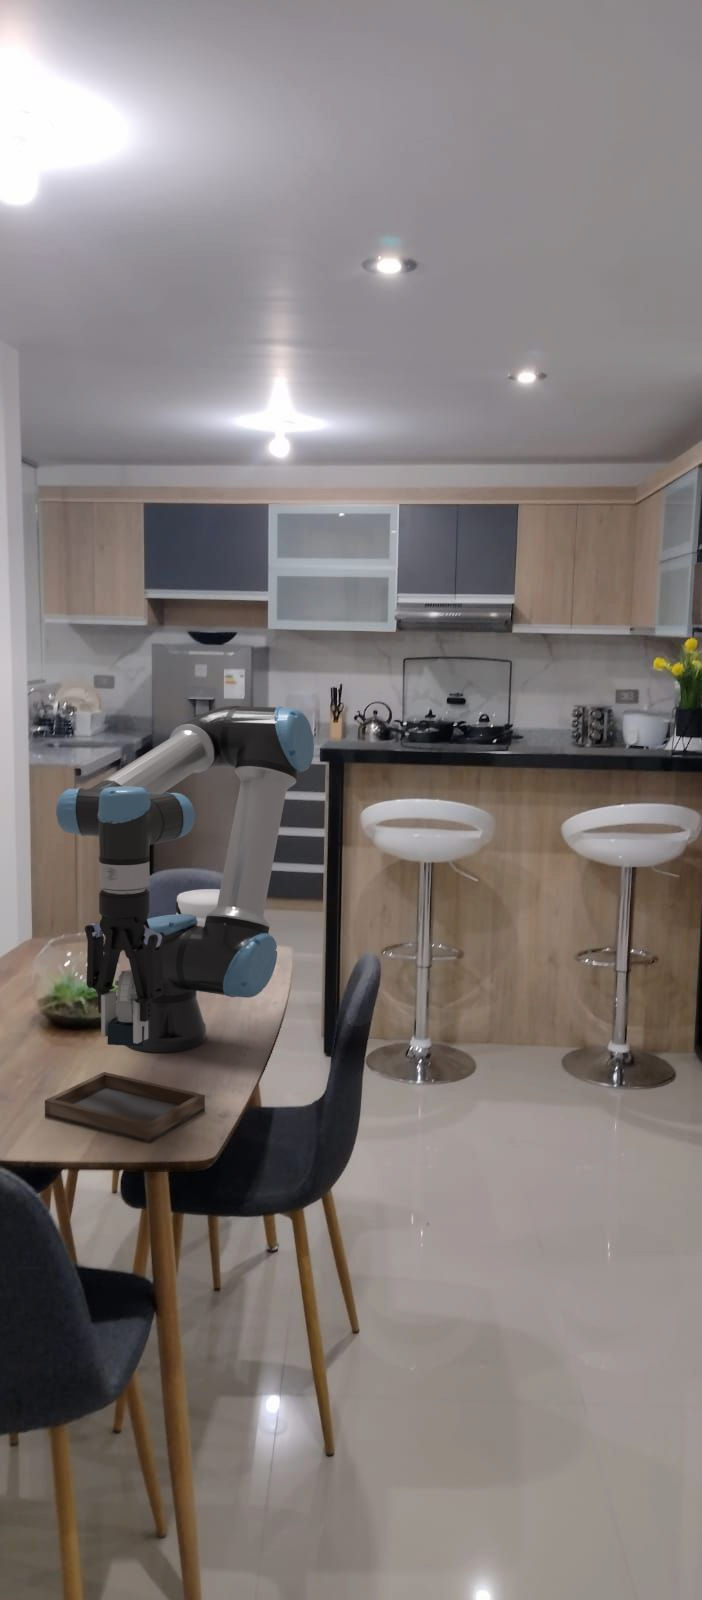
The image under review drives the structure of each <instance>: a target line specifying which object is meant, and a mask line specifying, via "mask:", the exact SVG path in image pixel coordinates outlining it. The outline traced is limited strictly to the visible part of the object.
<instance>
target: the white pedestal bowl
mask: <svg viewBox="0 0 702 1600" xmlns="http://www.w3.org/2000/svg"><path fill="white" fill-rule="evenodd" d="M219 893H220V889H219V888H206V889H205V888H204V889H203V888H202V889H193V890H187V891H183V892H180V893H178V895H177V896H176V904H175V911H176V913H175V914H191V915H194V916H196V919H197V921H198V923H197V926H202V927H204V926H205V921H206V916H207V914H209V913H210V912H212V911H213V910H214V909H215V908H216V907H217V903H218V898H219Z"/></svg>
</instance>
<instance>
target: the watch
mask: <svg viewBox="0 0 702 1600" xmlns="http://www.w3.org/2000/svg"><path fill="white" fill-rule="evenodd" d="M114 985H115V987H116V986H117V991H116V1017H115V1018H113V1019H112V1020H111V1022H110V1023H109V1024H108V1036H107V1042H106V1044H107V1045H109V1046H125V1047H126V1046H127V1047H128V1046H141V1047H143V1046H144V1045H145V1043H146V1042H147V1040H148V1039H149V1038H150V1020H148V1039H146V1040H144V1026H143V1027H142V1042H140V1043H138V1044H137V1043H133V1001H135V999H137V993H136V989H135V984H134V980H133V975H132V971H131V969H127V970H121V973H120V974H119V976H118V980H115V981H114Z"/></svg>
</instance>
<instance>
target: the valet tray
mask: <svg viewBox="0 0 702 1600" xmlns="http://www.w3.org/2000/svg"><path fill="white" fill-rule="evenodd" d="M205 1111H206V1095H205V1094H202V1093H197V1092H193V1091H189V1090H185V1089H180V1088H176V1087H172V1086H167V1085H162V1084H158V1083H155V1082H154V1083H153V1082H150V1081H146V1080H141V1079H137V1078H133V1077H129V1076H123V1075H119V1074H115V1073H111V1072H106V1071H103V1072H100V1073H98V1074H97V1075H94V1076H93V1077H91V1078H89V1079H86V1080H85V1081H82V1082H80V1083H78V1084H75V1085H74V1086H72V1087H69V1088H68V1089H65V1090H63V1091H61V1092H58V1093H57V1094H55V1095H52V1096H50V1097H49V1098H47V1099H44V1116H45V1117H46V1118H47V1117H48V1118H50V1119H54V1120H55V1119H56V1120H58V1121H62V1122H66V1123H70V1124H74V1125H78V1126H81V1127H84V1128H85V1127H86V1128H89V1129H92V1130H97V1131H101V1132H104V1133H108V1134H111V1135H115V1136H120V1137H123V1138H127V1139H131V1140H135V1141H139V1142H143V1143H147V1144H151V1143H153V1142H155V1141H156V1140H158V1139H160V1138H162V1137H163V1136H165V1135H167V1134H168V1133H170V1132H171V1131H173V1130H175V1129H176V1128H179V1127H180V1126H181V1125H183V1124H185V1123H186V1122H189V1121H190V1120H191V1119H193V1118H196V1116H198V1115H200V1114H202V1113H203V1112H205Z"/></svg>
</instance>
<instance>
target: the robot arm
mask: <svg viewBox="0 0 702 1600" xmlns="http://www.w3.org/2000/svg"><path fill="white" fill-rule="evenodd" d="M314 741H315V740H314V733H313V731H312V726H311V723H310V721H309V719H308V717H307V716H306V715H305V714H304V712H302V711H301V710H300V709H296V708H289V707H282V706H277V707H275V706H274V707H273V706H245V705H244V706H240V705H227V706H222V707H217V708H214V709H211V710H209V711H206V712H203V713H201V714H199V715H197V716H194V717H192V718H190V719H188V720H187V721H185V722H182V724H181V725H179V726H177V727H175V728H174V730H173V731H172V732H171V734H170V736H169V739H167V740H165V741H163V742H162V743H159V745H157V746H156V747H154V748H152V749H150V750H149V751H148V752H146V753H145V754H143V755H141V756H139V757H138V758H136V759H135V760H134V761H132V762H130V763H129V764H127V765H125V766H123V768H121V769H119V770H117V771H116V772H114V773H113V774H111V775H110V776H108V777H107V778H105V779H103V780H102V781H100V782H99V783H96V784H95V785H93V786H92V787H90V788H83V787H78V788H69V789H66V790H64V791H63V792H62V793H61V795H60V796H59V798H58V800H57V803H56V809H55V815H56V819H57V823H58V825H59V827H60V828H61V829H62V830H63V831H64V832H66V833H68V834H75V835H80V836H81V837H86V836H89V837H98V842H99V844H98V848H99V850H98V851H99V854H98V886H99V888H101V890H100V891H99V893H98V912H99V914H100V916H101V919H100V920H99V922H95V923H90V924H88V925H85V926H84V933H85V936H86V939H87V954H86V957H87V958H86V986H87V988H89V989H93V990H95V992H96V993H97V1011H98V1013H99V1014H100V1022H101V1023H100V1024H101V1025H100V1027H101V1030H100V1032H101V1034H100V1035H101V1037H104V1038H105V1037H108V1024H109V1023H110V1022H111V1020H112V1019H113V1018H115V1017H116V1016H117V1009H116V1003H117V990H116V991H115V990H114V989H115V988H116V985H115V986H114V982H115V981H114V980H115V976H116V973H117V968H118V964H119V961H120V960H119V959H120V955H121V952H122V951H123V952H124V954H125V957H126V959H128V961H129V965H130V970H131V971H132V975H133V980H134V984H135V989H136V993H137V999H135V1001H133V1043H137V1044H138V1043H140V1042H142V1027H143V1026H144V1040H146V1039H148V1020H150V1038H149V1039H148V1040H147V1042H146V1043H145V1045H144V1046H143V1047H141V1046H127V1047H128V1048H130V1049H133V1050H136V1051H139V1052H144V1053H155V1054H156V1053H158V1054H159V1053H160V1054H163V1053H165V1054H166V1053H175V1052H181V1051H186V1050H187V1051H188V1050H191V1049H194V1048H196V1047H199V1046H201V1045H202V1044H203V1043H204V1042H206V1040H207V1039H206V1038H207V1027H206V1024H205V1021H204V1018H203V1015H202V1010H201V1008H200V1005H199V1001H198V999H197V992H201V993H209V994H214V995H221V996H226V997H228V998H236V997H238V998H253V997H255V996H258V995H259V994H260V993H261V992H262V991H263V990H264V989H265V988H266V987H267V986H268V984H269V983H270V980H271V978H272V977H273V974H274V972H275V968H276V964H277V960H278V959H277V958H278V952H277V948H278V947H277V941H276V940H275V938H274V937H273V936H272V935H271V934H269V931H270V925H269V923H268V921H267V920H266V918H265V915H264V913H265V908H266V904H267V903H266V902H267V898H268V897H267V896H268V892H269V886H270V880H271V876H272V870H273V864H274V860H275V858H274V857H275V854H276V848H277V842H278V839H279V832H280V827H281V822H282V821H281V820H282V816H283V815H282V814H283V811H284V805H285V799H286V794H287V791H288V789H290V788H291V787H293V786H294V785H296V783H297V780H298V774H299V773H302V772H304V771H307V770H308V769H310V766H311V765H312V763H313V760H314V753H315V742H314ZM213 767H234V769H235V770H234V773H235V775H236V777H237V778H238V779H239V780H240V784H239V790H238V796H237V800H236V801H237V802H236V805H235V811H234V815H233V822H232V827H231V832H230V837H229V842H228V846H227V847H228V848H227V851H226V852H227V853H226V856H225V863H224V868H223V873H222V878H221V883H220V893H219V898H218V903H217V907H216V908H215V909H214V910H213V911H212V912H210V913H209V914H207V916H206V921H205V926H204V927H202V926H197V923H198V921H197V919H196V916H194V915H191V914H176V913H175V914H167V915H159V916H155V917H150V918H148V915H149V912H150V891H149V890H148V889H147V888H148V887H149V886H150V883H151V881H150V878H151V876H150V875H151V874H150V846H151V845H156V844H161V843H165V842H169V841H170V842H172V841H176V840H177V839H180V838H182V837H184V836H186V835H187V834H188V833H190V831H191V830H192V829H193V828H194V824H195V819H196V812H195V808H194V806H193V803H192V802H191V801H190V799H189V798H188V797H187V796H185V795H184V794H182V793H180V792H179V793H178V792H167V791H169V790H170V789H171V788H173V787H174V786H176V785H177V784H179V783H180V782H181V781H183V780H184V779H185V778H187V777H189V776H190V775H192V774H197V773H198V774H199V773H203V772H205V771H207V770H209V769H210V768H213Z"/></svg>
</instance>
